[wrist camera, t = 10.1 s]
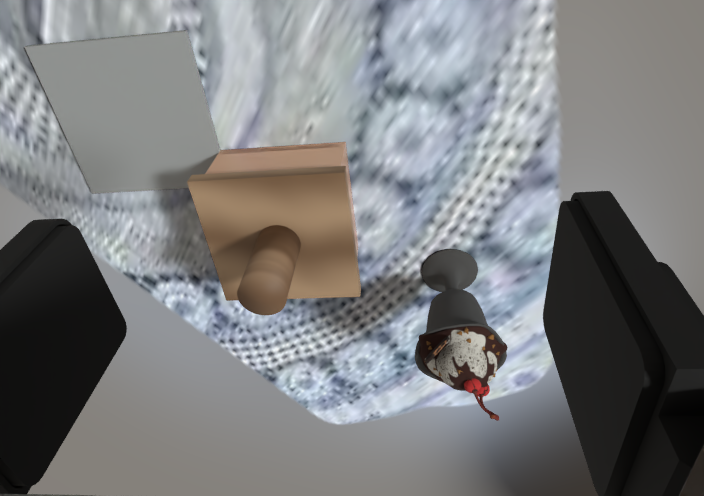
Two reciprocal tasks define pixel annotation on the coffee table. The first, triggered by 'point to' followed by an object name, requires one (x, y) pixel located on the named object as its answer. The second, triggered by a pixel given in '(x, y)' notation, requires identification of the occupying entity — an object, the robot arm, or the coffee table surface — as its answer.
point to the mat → (130, 109)
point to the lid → (279, 234)
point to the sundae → (458, 329)
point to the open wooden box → (284, 161)
